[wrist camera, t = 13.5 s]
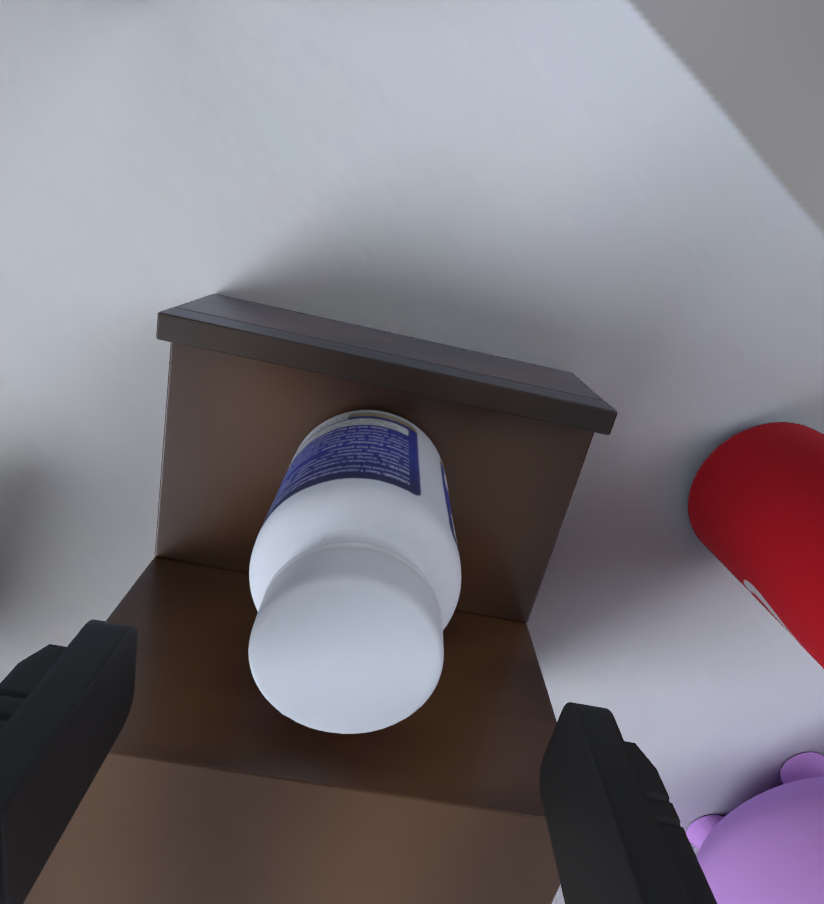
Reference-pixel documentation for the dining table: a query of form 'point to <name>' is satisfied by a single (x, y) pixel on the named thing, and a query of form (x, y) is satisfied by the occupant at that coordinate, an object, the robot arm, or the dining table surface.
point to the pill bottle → (355, 576)
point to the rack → (233, 615)
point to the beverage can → (769, 521)
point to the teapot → (769, 841)
